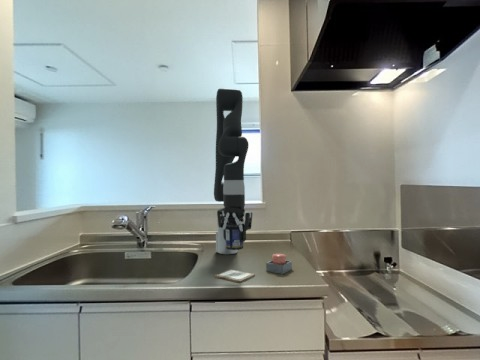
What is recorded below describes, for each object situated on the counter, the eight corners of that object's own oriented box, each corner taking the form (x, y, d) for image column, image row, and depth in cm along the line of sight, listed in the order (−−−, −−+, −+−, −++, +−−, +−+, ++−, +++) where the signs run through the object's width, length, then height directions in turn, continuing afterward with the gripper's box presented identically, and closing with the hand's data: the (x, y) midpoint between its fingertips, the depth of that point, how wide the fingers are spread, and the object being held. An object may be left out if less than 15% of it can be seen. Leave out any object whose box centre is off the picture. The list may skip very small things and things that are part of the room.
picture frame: (214, 277, 102) (214, 274, 102) (230, 270, 110) (230, 268, 110) (240, 283, 96) (240, 280, 96) (255, 275, 103) (255, 273, 103)
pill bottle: (245, 247, 105) (245, 216, 105) (240, 250, 99) (239, 218, 99) (229, 246, 107) (229, 215, 107) (223, 249, 101) (222, 217, 101)
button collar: (266, 270, 109) (266, 262, 109) (275, 266, 115) (275, 258, 115) (283, 274, 105) (283, 265, 105) (291, 269, 111) (291, 261, 111)
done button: (269, 266, 109) (269, 255, 109) (276, 263, 113) (276, 253, 113) (282, 268, 106) (281, 257, 106) (288, 265, 110) (287, 254, 110)
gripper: (211, 193, 104) (212, 240, 104) (245, 193, 96) (245, 245, 96) (224, 192, 111) (225, 237, 110) (257, 193, 102) (257, 241, 102)
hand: (234, 240), depth 103 cm, fingers closed on pill bottle, 6 cm apart
